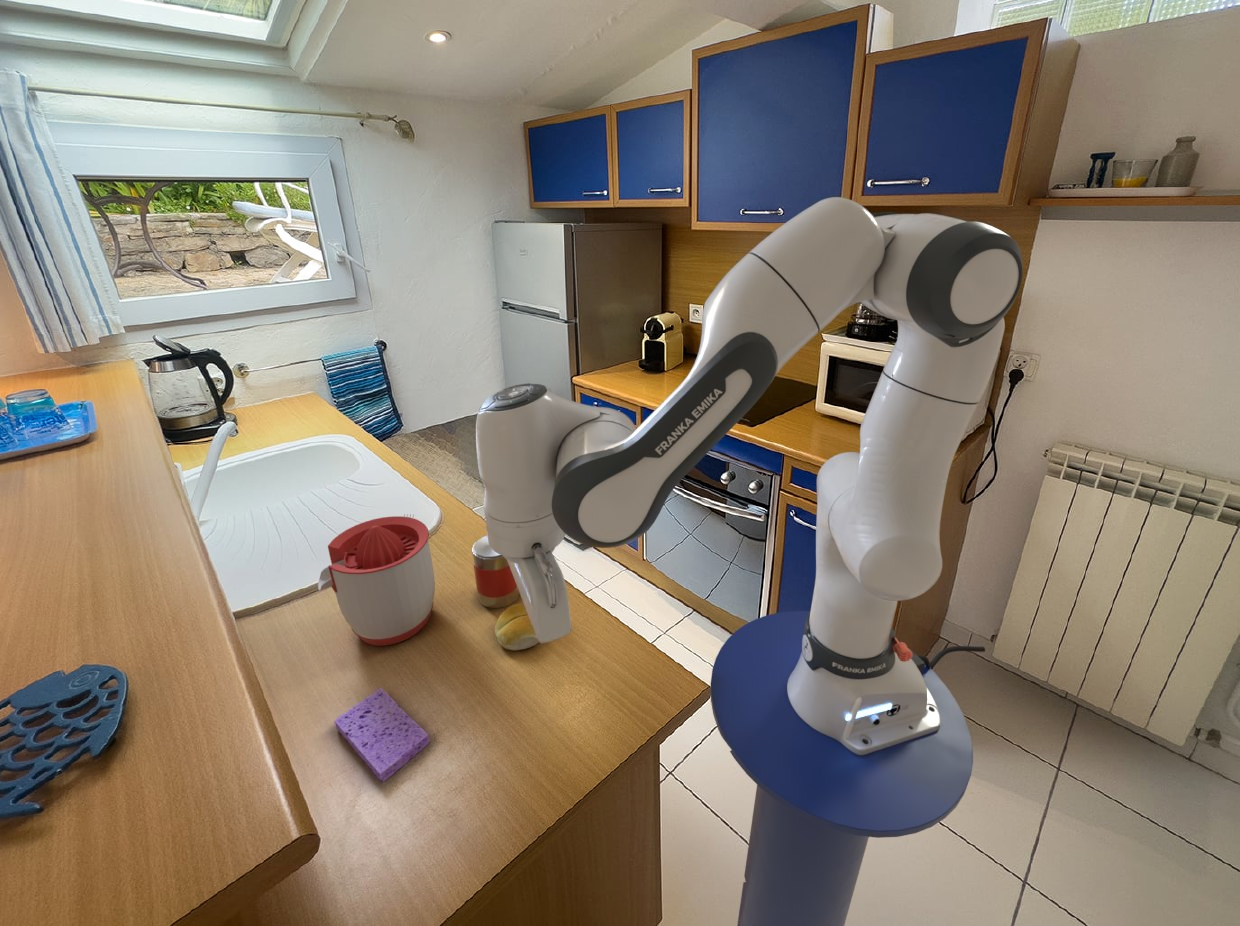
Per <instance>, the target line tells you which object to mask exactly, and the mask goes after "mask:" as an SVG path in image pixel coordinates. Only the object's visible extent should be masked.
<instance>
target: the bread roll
mask: <svg viewBox="0 0 1240 926" xmlns="http://www.w3.org/2000/svg"><path fill="white" fill-rule="evenodd" d="M494 634H495V637H496V641H497V642H498V643H499V645H500V646H501V647H502V648H503V649H506V650H509V651H521V650H526V649H529V648H532V647H534V646H536V645H537V644H538V643H540V642H539V641H538V639H537V636H536V634H535V631H534V629H533V626H532V625H531V622H530V619H529V617H528V614H527V612H526V609H525V605H524V603H522V602H521V603H516V604H513V605H512V604H511V605H509V607H507V608H506V609H505V610H504V611H503V612H502V613H501V614H500V616H499V617H498V619H497V621H496V623H495V625H494Z"/></svg>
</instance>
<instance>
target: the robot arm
mask: <svg viewBox="0 0 1240 926" xmlns="http://www.w3.org/2000/svg"><path fill="white" fill-rule="evenodd" d="M1022 254H1023V253H1022V250H1021V247H1020V246H1019V244H1018V242H1017V241H1016V240H1014V239H1013V238H1012V237H1011V236H1010V235H1009V234H1007V233H1005V232H1004V231H1002V230H1001V229H998V228H996V227H994V226H993V225H989V224H987V223H985V222H980V221H966V220H963V219H961V218H960V219H959V218H956V217H952V216H947V215H944V214H937V213H930V212H929V213H928V212H927V213H899V212H894V211H880V212H874V213H871V212H870V211H869V210H868V209H867V208H866V207H864V206H863V205H861V204H860V203H858V202H856V201H854V200H852V199H850V198H846V197H842V196H832V197H827V198H824V199H821V200H819V201H817V202H815V203H814V204H812V205H811V206H809V207H807V208H805V209H804V210H803V211H800V212H799V213H798V214H797V215H794V217H792V218H791V219H788V221H786V222H785V223H784V224H782V225H781V226H779V227H778V228H777V229H775V230H774V231H773V232H771V233H770V234H769V235H768V236H767V237H765V238H764V239H763V240H761V241H760V242H758V244H757V245H756V246H755V247H753V248H752V249H751V250H750V251H749V252H748V253H747V254H745V256H744V257H742V258H741V259H740V260H739V261H738V262H737V263H736V264H735V265H734V266H733V267H731V268H730V270H728V272H727V273H726V274H725V275H724V276H723V277H722V279H721V280H720V281H719V282H718V283H717V285H716V286H715V288H713V290H712V291H711V293H710V294H709V295H708V297H707V298H706V300H705V302H704V306H703V309H702V315H701V336H700V337H701V338H700V343H699V347H698V352H697V354H696V355H697V356H696V358H695V361H694V363H693V365H692V368H691V369H690V370H689V372H688V374H687V375H686V377H685V378H684V379H683V381H682V382H681V383H680V384H679V385H678V386H677V387H676V388H675V389H674V390H673V391H672V392H671V393H670V394H669V395H668V396H667V397H666V398H665V400H663V401H662V402H661V403H660V404H659V405H658V406H657V407H656V408H655V410H654V411H652V413H651V414H649V416H647V417H646V418H645V419H644V421H642V422H641V424H639V426H638V427H637V426H636V424H635V423H634V421H633V420H632V418H630V417H629V416H628V415H627V414H625V413H624V412H622V411H621V410H619V409H616V408H613V407H609V406H594V405H589V404H584V403H581V402H578V401H577V402H576V401H574V400H571V399H569V398H566V397H563V396H562V395H560V394H558V393H556V392H554V391H553V390H552V389H551V388H549V387H548V386H546V385H543V384H541V383H529V382H528V383H520V384H515V385H511V386H508V387H505V388H502V389H500V390H498V391H497V392H494V393H491V394H490V395H489V396H488V397H487V399H485V400H484V402H483V403H482V404H481V406H480V407H479V409H478V411H477V414H476V421H475V444H476V445H475V446H476V447H475V448H476V458H477V467H478V472H479V477H480V478H481V479H480V480H481V481H482V483H483V485H484V497H483V512H484V520H485V527H486V528H485V529H486V534H487V535H488V542H489V545H490V547H491V548H492V549H493V550H494V551H495V552H496V553H498V554H500V555H503V557H504V558H505V559H507V561H508V564H509V566H510V569H511V572H512V574H513V577H514V579H515V582H516V585H517V587H518V590H519V592H520V594H519V596H520V598H521V600H522V602H523V603H524V605H525V609H526V612H527V614H528V617H529V619H530V622H531V625H532V626H533V629H534V631H535V634H536V636H537V639H538V641H539V642H538V643H539V644H547V643H551V642H554V641H558V640H560V639H563V638H565V637H567V636H568V635H570V633H571V631H572V619H571V611H570V603H569V601H570V600H569V594H568V589H567V584H566V580H565V577H564V574H563V572H562V569H561V567H560V565H559V564H558V562H557V559H556V558H555V556H554V553H553V552H554V551H555V549H556V548H557V547H558V546H559V545H560V544H561V543H562V542H563V540H564V539H565V536H567V537H569V538H570V539H571V540H574V541H575V542H577V543H579V544H582V545H585V546H587V547H592V548H596V549H597V548H598V549H610V548H611V549H612V548H618V547H622V546H625V545H627V544H630V543H632V542H634V541H636V540H637V539H639V538H642V536H643V535H645V534H646V533H647V532H648V531H649V530H650V528H652V526H653V525H654V523H655V522H656V520H657V518H658V517H659V515H660V513H661V511H662V509H663V508H664V505H665V503H666V501H667V500H668V498H669V496H670V495H671V494H672V492H673V490H674V489H675V488H676V487H677V486H678V484H679V483H680V482H681V481H682V480H683V478H685V477H686V475H688V474H689V473H690V472H691V470H692V469H694V467H695V466H696V465H697V464H698V463H699V462H700V461H701V460H702V459H703V458H704V457H705V456H706V455H707V454H708V453H709V452H710V451H711V450H712V449H713V448H714V447H715V446H716V445H717V444H718V443H719V442H720V441H721V440H722V439H723V438H724V437H725V436H727V434H728V433H729V431H731V430H732V429H733V428H734V427H735V426H736V424H738V422H740V420H741V419H742V418H744V416H745V415H746V414H747V413H748V412H749V411H750V410H751V408H752V407H753V406H754V405H756V404H757V402H758V401H759V399H760V398H761V397H762V396H763V394H764V393H765V392H766V391H767V390H768V388H769V387H770V385H772V383H773V381H774V379H775V377H776V376H777V375H778V373H779V372H780V371H781V370H782V368H783V367H784V366H785V365H786V364H787V363H788V362H789V361H790V360H791V359H792V358H793V357H794V356H795V355H796V354H797V353H798V352H799V351H800V350H801V349H802V348H803V347H804V346H805V345H807V344H808V343H809V342H811V340H812V339H814V338H815V337H816V336H817V335H818V333H820V332H821V331H823V329H824V328H826V327H827V326H828V325H829V324H831V322H832V321H834V320H835V318H836V317H837V316H838V315H839V314H841V313H842V312H843V311H844V310H846V309H847V308H850V307H851V306H854V305H855V304H861V305H863V306H864V307H866V308H867V309H869V310H870V311H873V312H874V313H877V314H879V315H880V316H883V317H885V318H886V319H890V320H894V321H895V320H896V321H897V339H896V341H895V343H894V345H893V347H892V350H891V351H890V352H889V353H890V354H889V355H888V358H887V360H886V362H885V364H884V367H883V368H882V369H883V370H882V371H881V374H880V377H879V379H878V381H877V384H876V386H875V389H874V390H873V394H872V396H871V399H870V401H869V404H868V407H867V408H866V410H865V411H866V412H865V414H864V416H863V418H862V421H861V424H860V429H859V441H860V442H859V452H858V451H857V452H856V451H848V452H847V451H845V452H842V453H839V454H836V455H833V456H832V457H830V458H829V459H827V460H826V461H825V462H824V463H823V464H822V465H821V467H820V469H819V470H818V473H817V476H816V501H817V502H816V503H817V504H816V523H815V524H816V525H815V579H814V580H815V581H814V588H813V593H812V599H811V607H810V610H809V611H810V612H809V614H808V616H807V619H806V623H805V628H804V634H803V639H802V653H801V655H800V658H799V661H798V663H797V665H796V667H795V669H794V670H793V672H792V673H791V675H790V677H789V679H788V683H787V693H788V697H789V700H790V703H791V705H792V707H793V708H794V710H795V711H796V713H797V714H798V715H799V716H800V717H801V718H802V719H803V720H804V721H805V722H806V723H807V724H808V725H809V726H811V727H812V728H814V729H815V730H817V731H819V732H820V733H822V734H824V735H827V736H829V737H831V738H834V739H836V740H838V741H839V742H840V743H842V744H843V745H844V746H845V747H846V748H848V749H849V750H850V751H852V752H853V753H855V754H857V755H865V754H868V753H871V752H874V751H877V750H880V749H883V748H886V747H889V746H892V745H896V744H899V743H902V742H905V741H908V740H911V739H914V738H917V737H920V736H923V735H926V734H929V733H932V732H935V731H937V730H939V729H940V714H939V710H938V707H937V705H936V703H935V701H934V699H933V697H932V695H931V693H930V692H929V690H928V689H927V687H926V684H925V681H924V679H923V676H922V673H923V669H924V666H926V667H928V668H931V669H932V668H934V666H936V665H937V664H938V663H939V662H940V661H941V659H943V657H945V656H946V655H947V654H950V653H953V652H954V653H955V652H973V653H975V652H976V653H983V652H986V648H985V647H984V646H970V645H955V646H949V647H946V648H944V649H942V650H940V651H939V652H937V654H936V655H935V656H934V657H933V658H932V659H931V660H929V658H928V657H927V656H925V655H921V654H916V652H914V650H912V649H911V648H910V647H909V646H908V645H907V644H906V643H905V642H904V641H903V640H901V641H899V640H898V637H897V633H896V632H895V630H894V629H893V628H892V626H893V622H894V619H895V614H896V610H897V606H898V602H899V601H900V602H902V601H908V600H912V599H914V598H915V599H916V598H917V597H919V596H921V595H923V594H925V593H926V592H927V591H929V590H930V589H932V587H933V586H934V585H935V584H936V583H937V581H938V580H939V578H940V576H941V574H942V571H943V557H942V551H941V541H940V539H941V537H940V533H941V521H942V520H941V519H942V511H943V506H944V500H945V494H946V488H947V484H948V479H949V474H950V471H951V467H952V463H953V460H954V457H955V455H956V453H957V450H958V448H959V447H960V444H961V441H962V439H963V438H964V435H965V433H966V432H967V429H968V427H969V425H970V423H971V420H972V419H973V416H974V414H975V412H976V410H977V408H978V406H979V404H980V401H981V399H982V398H983V395H984V394H985V391H986V389H987V387H988V384H989V381H990V379H991V376H992V374H993V371H994V368H995V365H996V363H997V359H998V356H999V353H1000V351H1001V350H1000V349H1001V346H1002V342H1003V337H1004V334H1005V329H1006V327H1005V326H1006V324H1005V318H1004V317H1005V316H1006V315H1007V313H1008V312H1009V310H1010V309H1011V308H1012V306H1013V304H1014V302H1015V301H1016V299H1017V296H1018V294H1019V292H1020V289H1021V286H1022V283H1023V275H1024V274H1023V273H1024V262H1023V255H1022ZM487 535H486V536H487ZM930 710H931V711H932V712H931V711H930ZM863 742H865V743H867V744H864V743H863Z"/></svg>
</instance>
